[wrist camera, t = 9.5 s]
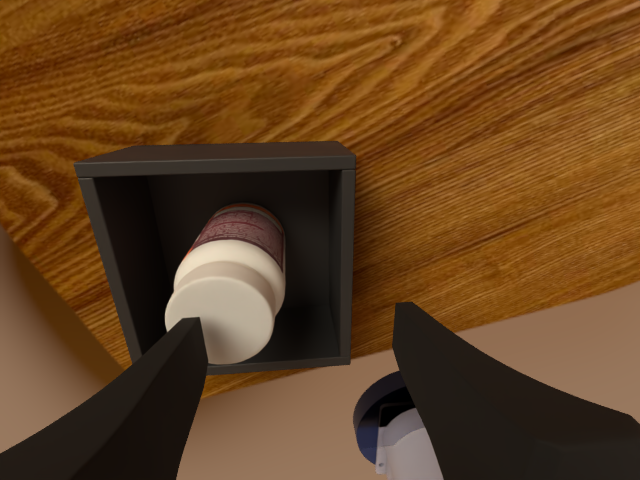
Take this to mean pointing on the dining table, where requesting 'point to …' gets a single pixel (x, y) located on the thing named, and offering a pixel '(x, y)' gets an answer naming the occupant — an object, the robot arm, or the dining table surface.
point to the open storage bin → (194, 213)
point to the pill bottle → (232, 282)
